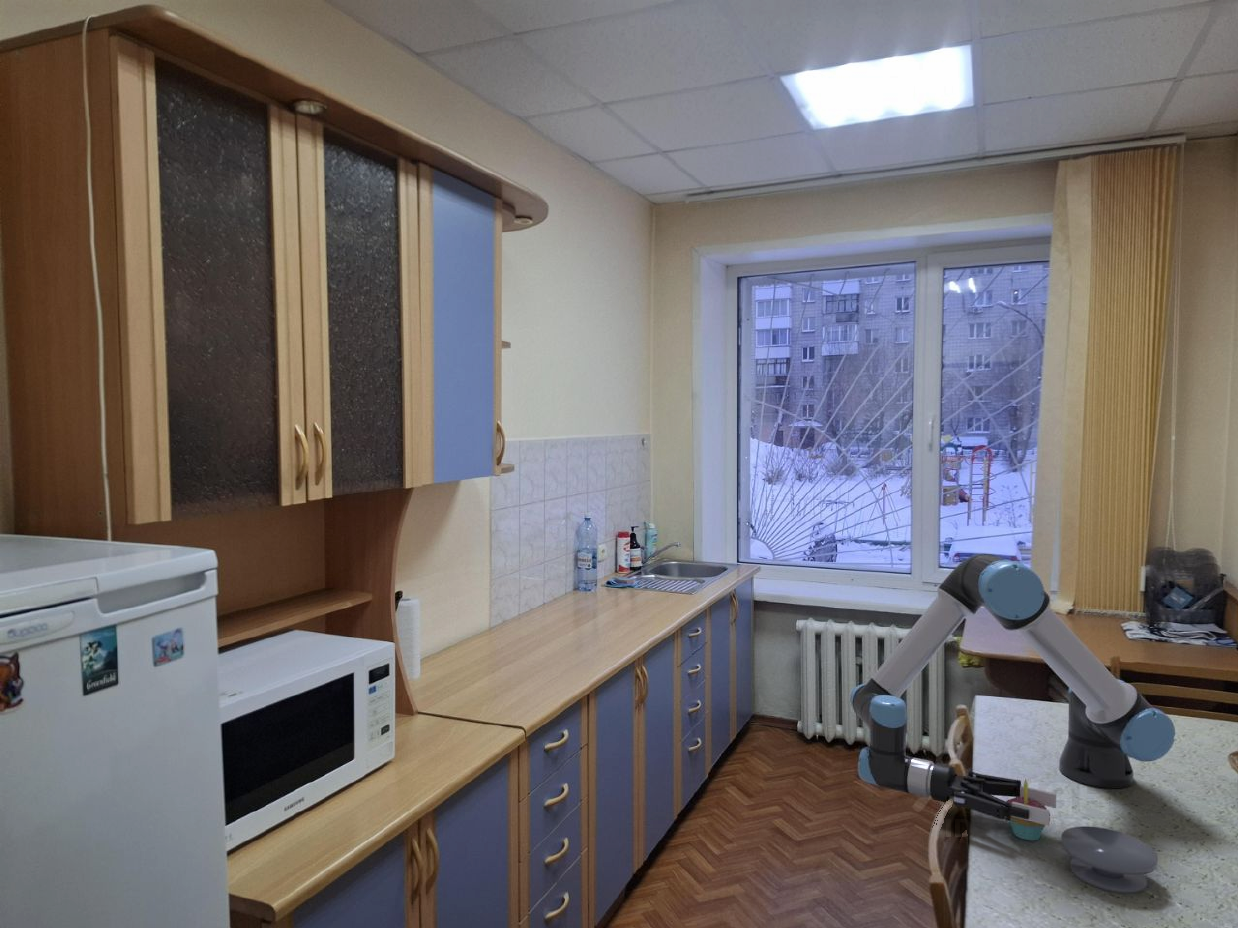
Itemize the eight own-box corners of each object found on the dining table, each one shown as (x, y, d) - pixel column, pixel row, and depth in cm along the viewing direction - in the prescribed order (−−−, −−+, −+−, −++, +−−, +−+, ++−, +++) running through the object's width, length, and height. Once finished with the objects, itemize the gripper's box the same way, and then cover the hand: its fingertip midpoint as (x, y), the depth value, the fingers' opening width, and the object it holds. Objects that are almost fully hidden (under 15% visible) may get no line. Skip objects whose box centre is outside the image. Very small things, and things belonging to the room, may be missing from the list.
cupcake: (1047, 849, 158) (1049, 788, 157) (999, 838, 162) (1000, 778, 162) (1051, 831, 165) (1052, 772, 164) (1004, 820, 169) (1006, 763, 169)
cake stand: (1129, 856, 155) (1130, 828, 155) (1175, 900, 140) (1176, 870, 140) (1047, 851, 157) (1047, 824, 157) (1083, 895, 142) (1084, 865, 142)
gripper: (945, 780, 182) (1059, 808, 169) (918, 816, 165) (1043, 849, 152) (946, 747, 182) (1060, 772, 169) (919, 780, 165) (1044, 810, 152)
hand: (1052, 809), depth 160 cm, fingers closed on cupcake, 8 cm apart
